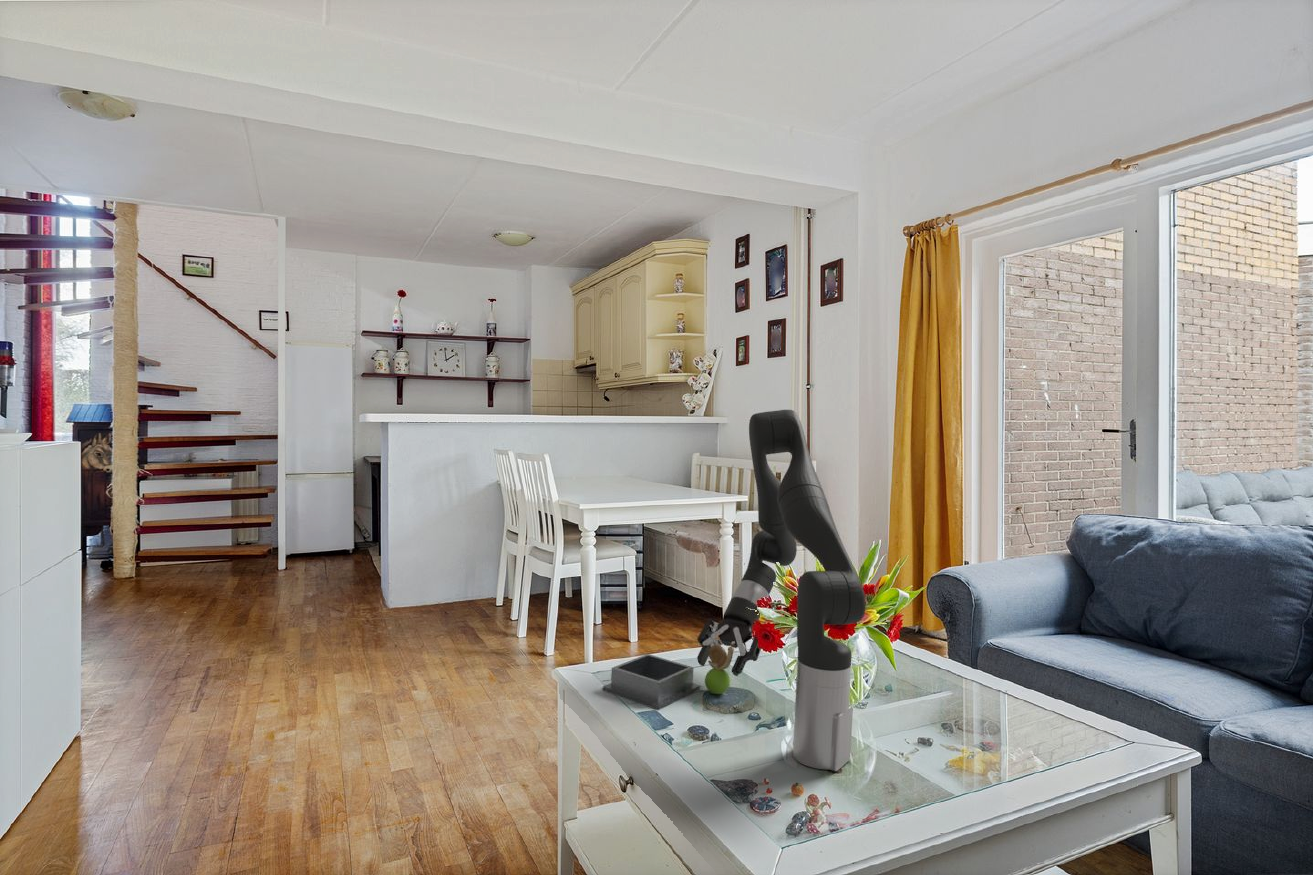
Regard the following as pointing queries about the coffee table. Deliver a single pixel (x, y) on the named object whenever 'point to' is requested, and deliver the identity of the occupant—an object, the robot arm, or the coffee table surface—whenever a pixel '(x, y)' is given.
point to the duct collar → (652, 681)
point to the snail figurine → (719, 669)
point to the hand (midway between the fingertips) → (717, 668)
